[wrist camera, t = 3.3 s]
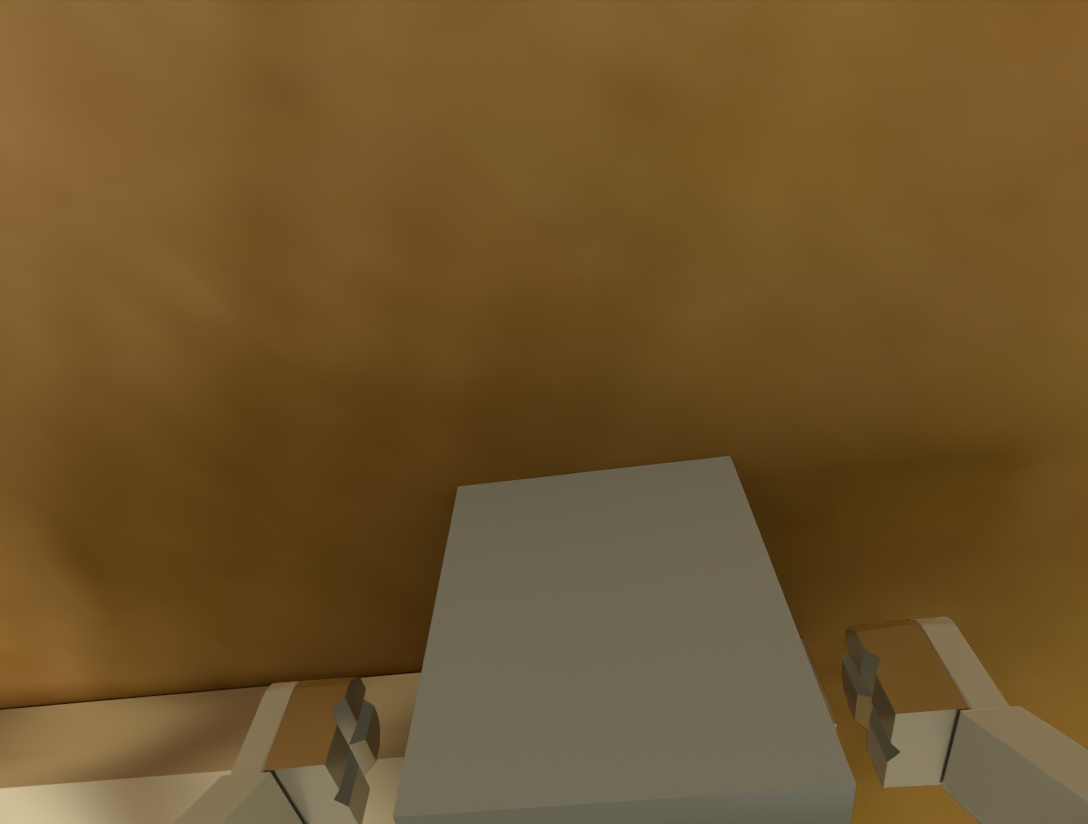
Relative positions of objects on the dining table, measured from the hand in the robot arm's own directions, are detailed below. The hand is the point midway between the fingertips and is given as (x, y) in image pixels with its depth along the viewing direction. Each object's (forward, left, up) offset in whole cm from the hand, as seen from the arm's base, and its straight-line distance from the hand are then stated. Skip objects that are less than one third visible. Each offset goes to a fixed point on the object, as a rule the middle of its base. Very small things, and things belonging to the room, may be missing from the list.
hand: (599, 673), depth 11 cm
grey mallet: (0, +4, -3) cm, 5 cm away
